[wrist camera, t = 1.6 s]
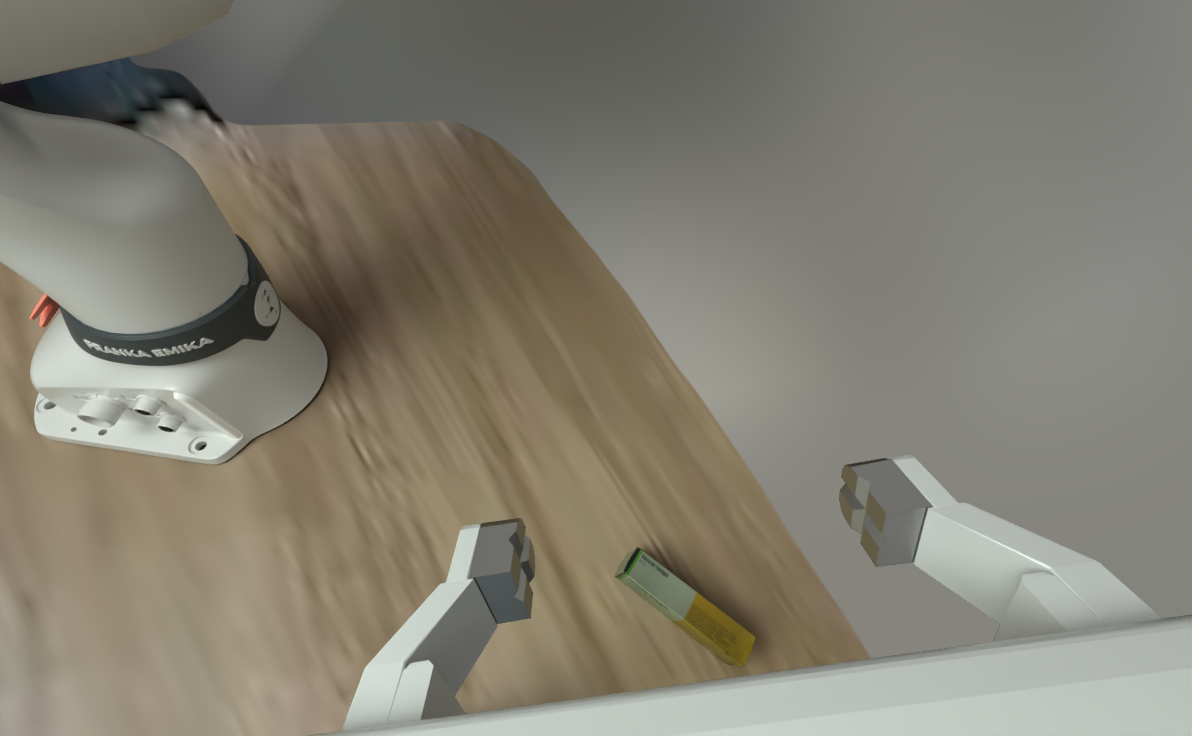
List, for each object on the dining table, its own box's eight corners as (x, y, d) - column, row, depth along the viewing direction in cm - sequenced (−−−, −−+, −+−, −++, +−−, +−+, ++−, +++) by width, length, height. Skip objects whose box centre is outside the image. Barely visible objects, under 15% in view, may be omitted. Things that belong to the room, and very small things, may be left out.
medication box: (611, 577, 42) (620, 571, 38) (627, 551, 43) (637, 543, 40) (725, 666, 40) (746, 668, 36) (738, 636, 41) (759, 635, 38)
